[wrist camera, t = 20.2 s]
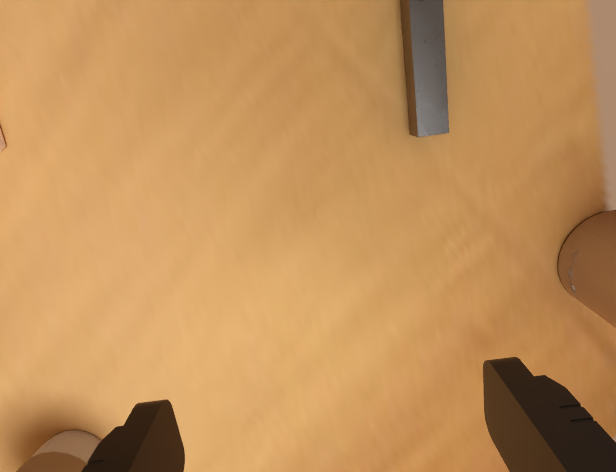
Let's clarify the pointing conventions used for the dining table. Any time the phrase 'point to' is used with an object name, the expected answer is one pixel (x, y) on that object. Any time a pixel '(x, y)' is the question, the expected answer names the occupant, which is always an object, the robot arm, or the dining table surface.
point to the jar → (2, 142)
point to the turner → (425, 66)
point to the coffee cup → (63, 453)
